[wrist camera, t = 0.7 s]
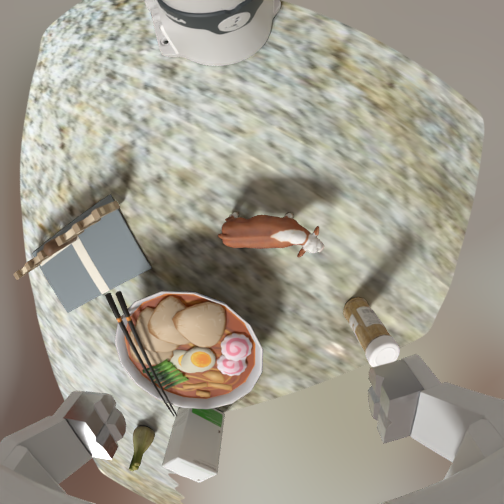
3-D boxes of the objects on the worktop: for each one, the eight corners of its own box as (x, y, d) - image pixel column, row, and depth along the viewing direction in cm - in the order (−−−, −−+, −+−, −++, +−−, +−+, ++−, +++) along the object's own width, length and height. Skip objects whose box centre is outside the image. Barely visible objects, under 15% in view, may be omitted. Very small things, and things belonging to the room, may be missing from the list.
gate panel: (80, 234, 41) (58, 246, 35) (77, 227, 41) (54, 239, 35) (120, 207, 40) (100, 216, 34) (116, 200, 40) (96, 208, 34)
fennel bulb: (143, 436, 58) (132, 474, 47) (130, 425, 57) (116, 463, 45) (160, 433, 57) (150, 472, 46) (147, 421, 56) (134, 461, 45)
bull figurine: (313, 243, 43) (327, 262, 35) (221, 235, 42) (215, 253, 35) (317, 214, 42) (332, 227, 34) (223, 205, 41) (217, 217, 33)
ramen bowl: (273, 377, 51) (276, 409, 43) (158, 389, 52) (148, 418, 44) (245, 249, 43) (244, 271, 35) (109, 276, 44) (86, 298, 37)
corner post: (67, 232, 42) (41, 246, 35) (74, 227, 42) (49, 240, 35) (72, 243, 43) (47, 258, 35) (80, 237, 42) (55, 252, 35)
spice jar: (337, 313, 47) (362, 364, 34) (353, 291, 45) (385, 338, 33) (357, 323, 47) (385, 374, 35) (373, 303, 46) (407, 349, 34)
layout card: (33, 252, 43) (32, 253, 43) (110, 194, 40) (109, 194, 40) (68, 312, 47) (67, 312, 46) (151, 267, 44) (150, 268, 44)
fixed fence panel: (38, 265, 43) (16, 280, 37) (35, 260, 43) (13, 274, 36) (67, 244, 42) (43, 258, 36) (63, 237, 42) (40, 251, 35)
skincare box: (225, 412, 54) (220, 474, 39) (207, 426, 56) (200, 484, 41) (191, 394, 53) (178, 457, 38) (175, 409, 54) (160, 468, 39)
